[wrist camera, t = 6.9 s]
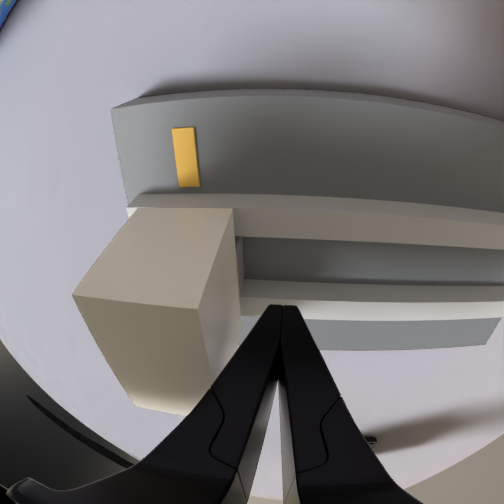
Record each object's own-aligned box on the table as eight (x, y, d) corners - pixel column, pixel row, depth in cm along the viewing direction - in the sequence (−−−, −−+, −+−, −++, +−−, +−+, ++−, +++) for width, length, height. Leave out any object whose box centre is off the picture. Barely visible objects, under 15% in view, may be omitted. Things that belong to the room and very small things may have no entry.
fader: (246, 302, 13) (223, 421, 9) (176, 297, 14) (134, 405, 9) (239, 188, 10) (197, 308, 6) (153, 189, 11) (71, 294, 6)
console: (474, 318, 15) (490, 358, 13) (177, 310, 17) (160, 353, 15) (540, 133, 9) (582, 159, 6) (136, 98, 11) (94, 116, 8)
